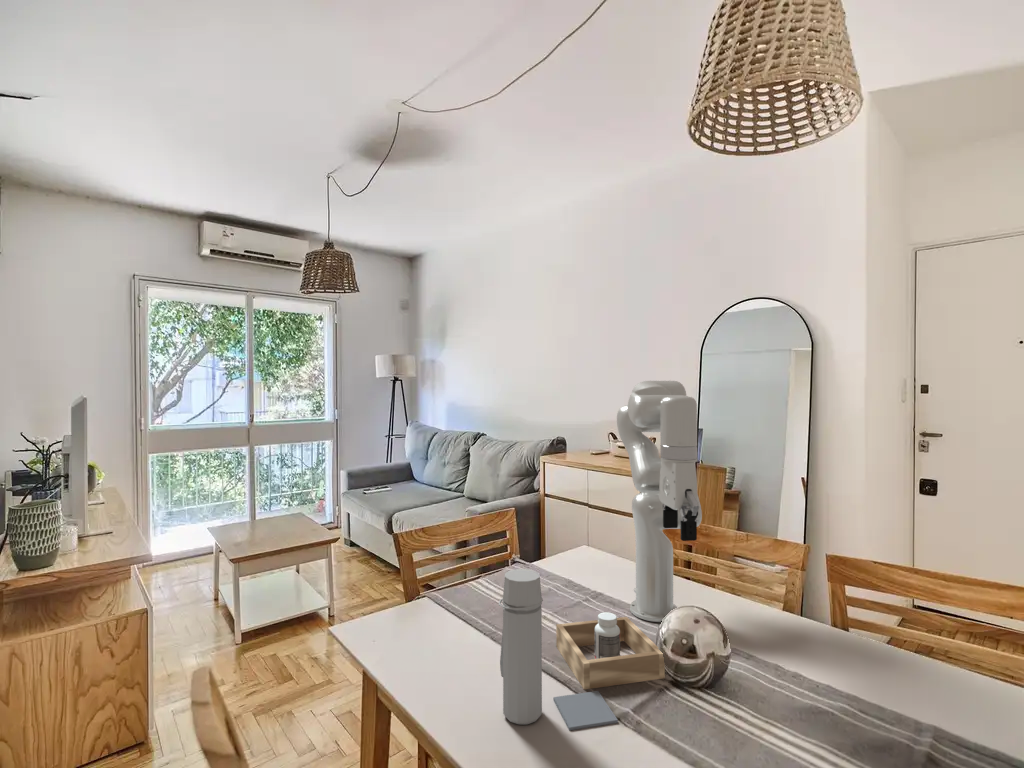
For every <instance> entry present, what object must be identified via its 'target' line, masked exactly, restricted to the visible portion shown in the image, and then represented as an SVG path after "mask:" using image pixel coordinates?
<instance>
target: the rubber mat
mask: <svg viewBox="0 0 1024 768" xmlns="http://www.w3.org/2000/svg"><path fill="white" fill-rule="evenodd" d="M553 702H554V704H555V706H556V708H557V710H558V712H559V713H560V715H561V717H562V719H563V721H564V723H565V725H566V727H567V729H568V731H574V730H580V729H587V728H593V727H600V726H606V725H611V724H618V723H619V720H618V718H617V717H616V715H615V713H614V712H613V711H612V709H611V708H610V706H609V704H607V701H606V700H605V699H604V697H603V695H602V694H601V693H600V691H599V690H593V691H588V692H580V693H573V694H567V695H559V696H553Z"/></svg>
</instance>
